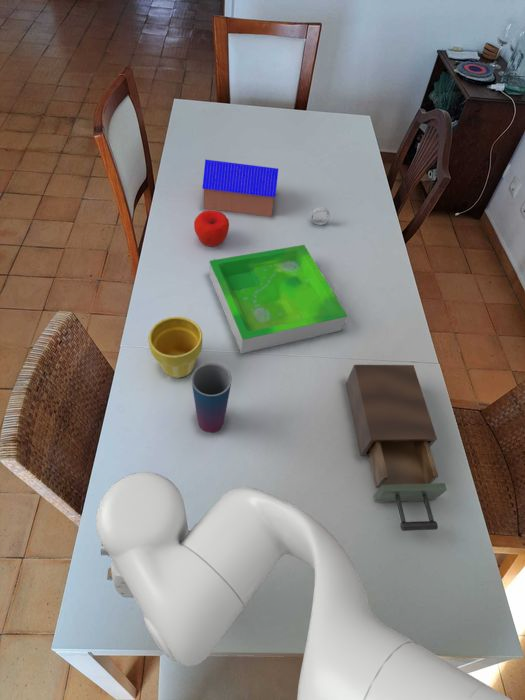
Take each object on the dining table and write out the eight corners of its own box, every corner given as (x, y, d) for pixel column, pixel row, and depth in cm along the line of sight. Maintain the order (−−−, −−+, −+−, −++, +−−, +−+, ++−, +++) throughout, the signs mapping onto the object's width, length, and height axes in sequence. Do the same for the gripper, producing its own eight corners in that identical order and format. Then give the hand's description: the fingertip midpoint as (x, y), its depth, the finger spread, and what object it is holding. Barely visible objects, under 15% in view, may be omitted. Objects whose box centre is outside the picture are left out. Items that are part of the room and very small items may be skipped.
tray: (342, 330, 107) (347, 316, 103) (241, 353, 100) (242, 339, 96) (300, 259, 120) (304, 244, 116) (209, 275, 113) (209, 260, 109)
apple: (203, 257, 117) (202, 232, 111) (189, 236, 121) (188, 211, 115) (234, 248, 120) (235, 224, 114) (219, 228, 124) (220, 204, 118)
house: (207, 185, 136) (208, 147, 127) (274, 193, 137) (279, 156, 128) (202, 209, 129) (202, 171, 119) (272, 217, 130) (277, 181, 120)
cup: (189, 433, 87) (186, 391, 75) (198, 403, 91) (197, 359, 79) (224, 440, 87) (227, 399, 75) (231, 409, 91) (235, 366, 79)
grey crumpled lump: (327, 227, 129) (331, 212, 125) (310, 225, 129) (313, 211, 125) (326, 221, 131) (330, 206, 127) (309, 219, 131) (312, 204, 127)
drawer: (444, 533, 79) (458, 525, 75) (381, 536, 78) (391, 527, 74) (412, 424, 92) (422, 411, 88) (358, 424, 91) (366, 411, 87)
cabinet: (422, 455, 89) (437, 438, 84) (360, 456, 88) (371, 439, 82) (401, 383, 99) (413, 364, 93) (345, 383, 98) (354, 364, 92)
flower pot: (154, 345, 98) (149, 315, 91) (202, 345, 100) (202, 315, 92) (151, 386, 92) (146, 357, 85) (202, 384, 94) (202, 357, 86)
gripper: (64, 591, 44) (101, 618, 59) (233, 582, 46) (228, 611, 61) (78, 514, 49) (109, 556, 64) (232, 508, 51) (227, 551, 65)
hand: (167, 583), depth 62 cm, fingers closed on rook chess piece, 3 cm apart
